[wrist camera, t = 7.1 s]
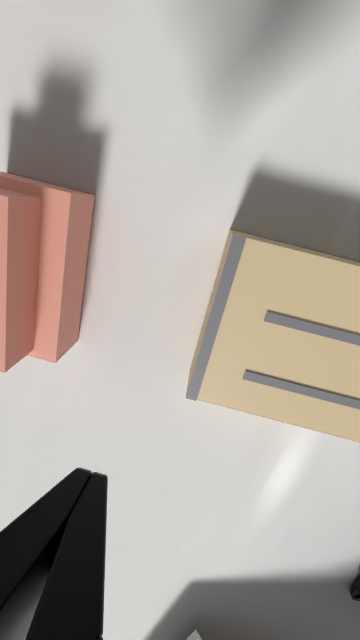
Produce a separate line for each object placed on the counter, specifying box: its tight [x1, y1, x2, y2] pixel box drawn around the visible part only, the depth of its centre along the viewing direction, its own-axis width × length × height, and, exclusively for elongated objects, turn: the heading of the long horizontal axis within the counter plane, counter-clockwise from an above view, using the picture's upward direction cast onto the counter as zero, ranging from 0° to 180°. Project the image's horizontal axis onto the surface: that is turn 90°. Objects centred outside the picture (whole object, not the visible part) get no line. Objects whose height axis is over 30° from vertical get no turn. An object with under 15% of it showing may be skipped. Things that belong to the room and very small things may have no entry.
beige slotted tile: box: [186, 229, 360, 442], centre depth 17 cm, size 10×9×3 cm
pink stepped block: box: [0, 172, 95, 372], centre depth 16 cm, size 5×9×6 cm, turn 167°
